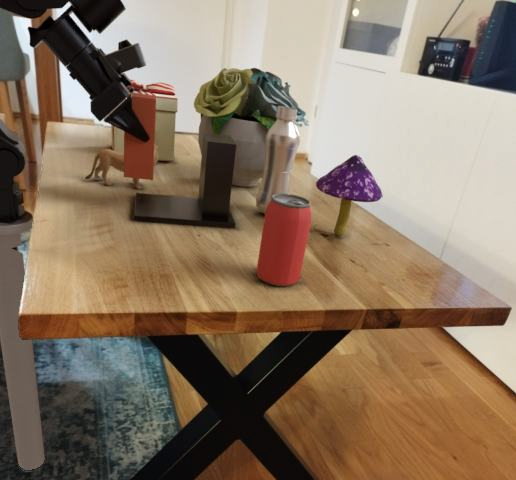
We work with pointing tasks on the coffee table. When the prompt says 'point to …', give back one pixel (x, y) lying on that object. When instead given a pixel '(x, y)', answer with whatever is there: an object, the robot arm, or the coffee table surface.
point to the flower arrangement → (244, 115)
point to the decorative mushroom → (349, 187)
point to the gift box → (163, 119)
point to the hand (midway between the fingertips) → (148, 136)
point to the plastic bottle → (278, 156)
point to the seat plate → (175, 211)
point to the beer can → (284, 239)
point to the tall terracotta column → (136, 150)
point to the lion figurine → (113, 164)
